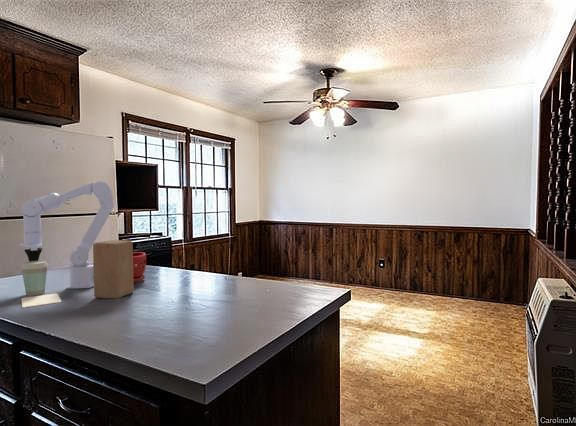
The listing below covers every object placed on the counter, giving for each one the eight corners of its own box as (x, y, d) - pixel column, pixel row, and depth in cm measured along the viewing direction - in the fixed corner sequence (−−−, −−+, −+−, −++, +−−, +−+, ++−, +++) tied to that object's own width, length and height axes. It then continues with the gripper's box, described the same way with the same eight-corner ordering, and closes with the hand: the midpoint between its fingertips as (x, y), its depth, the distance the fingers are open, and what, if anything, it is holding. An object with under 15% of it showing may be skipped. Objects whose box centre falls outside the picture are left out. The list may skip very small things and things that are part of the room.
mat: (21, 299, 132) (21, 298, 132) (57, 294, 138) (57, 293, 138) (22, 308, 121) (22, 307, 121) (61, 302, 127) (61, 301, 127)
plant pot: (113, 280, 162) (113, 253, 162) (145, 277, 168) (144, 251, 167) (113, 286, 150) (112, 257, 150) (147, 283, 156) (147, 255, 155)
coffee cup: (54, 291, 143) (53, 260, 142) (37, 297, 134) (36, 264, 134) (33, 290, 144) (32, 260, 143) (15, 296, 135) (14, 264, 135)
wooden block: (117, 299, 130) (116, 243, 129) (93, 298, 132) (91, 242, 131) (134, 292, 140) (133, 240, 139) (111, 291, 142) (110, 239, 141)
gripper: (19, 231, 146) (20, 265, 146) (20, 234, 134) (21, 271, 135) (40, 230, 150) (42, 263, 150) (43, 233, 138) (44, 268, 139)
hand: (33, 267), depth 143 cm, fingers closed
